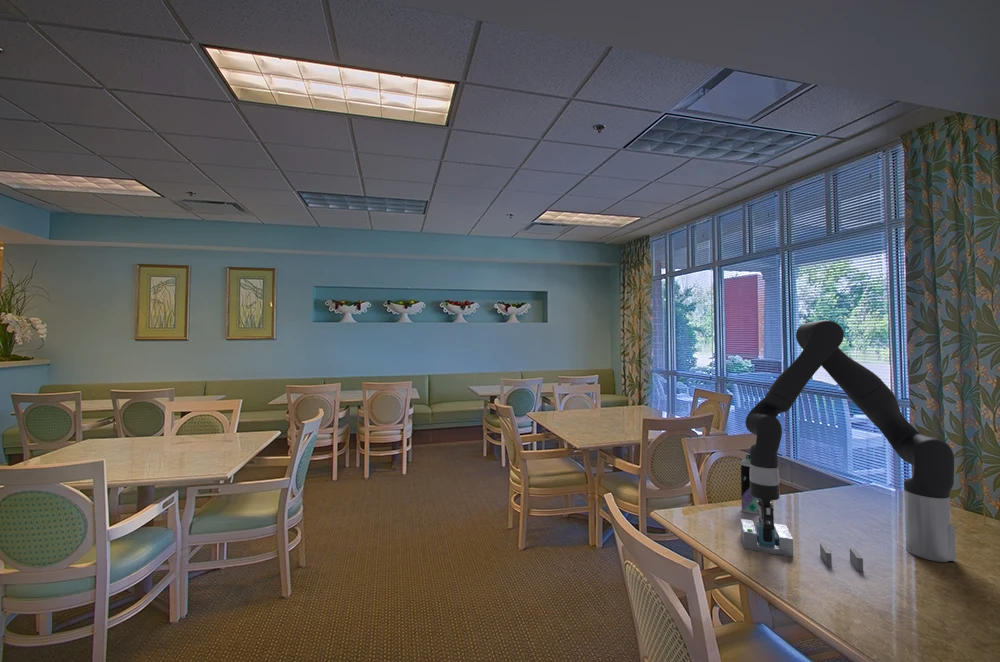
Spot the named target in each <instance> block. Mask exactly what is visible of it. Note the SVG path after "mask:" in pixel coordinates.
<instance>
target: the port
mask: <svg viewBox="0 0 1000 662" xmlns="http://www.w3.org/2000/svg"><path fill="white" fill-rule="evenodd" d="M774 529H775V546H774V545H768V544H762V543H757V528H756V527H755V523H754V521H753V520H751V519H746V518H740V536H741V541H742V544H743V548H744V550H747V549H751V550H750V551H753V550H756V551H755V552H759V551H761V553H765V552H768V553H767V554H771V553H774V554H773V555H777V554H780V555H779V556H783V555H784V557H789V556H790V558H791V557H792V558H794V539H793V536H792V534H791V531H790V530H789V528H788V526H787V525H786V524H780V523H774Z"/></svg>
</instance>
